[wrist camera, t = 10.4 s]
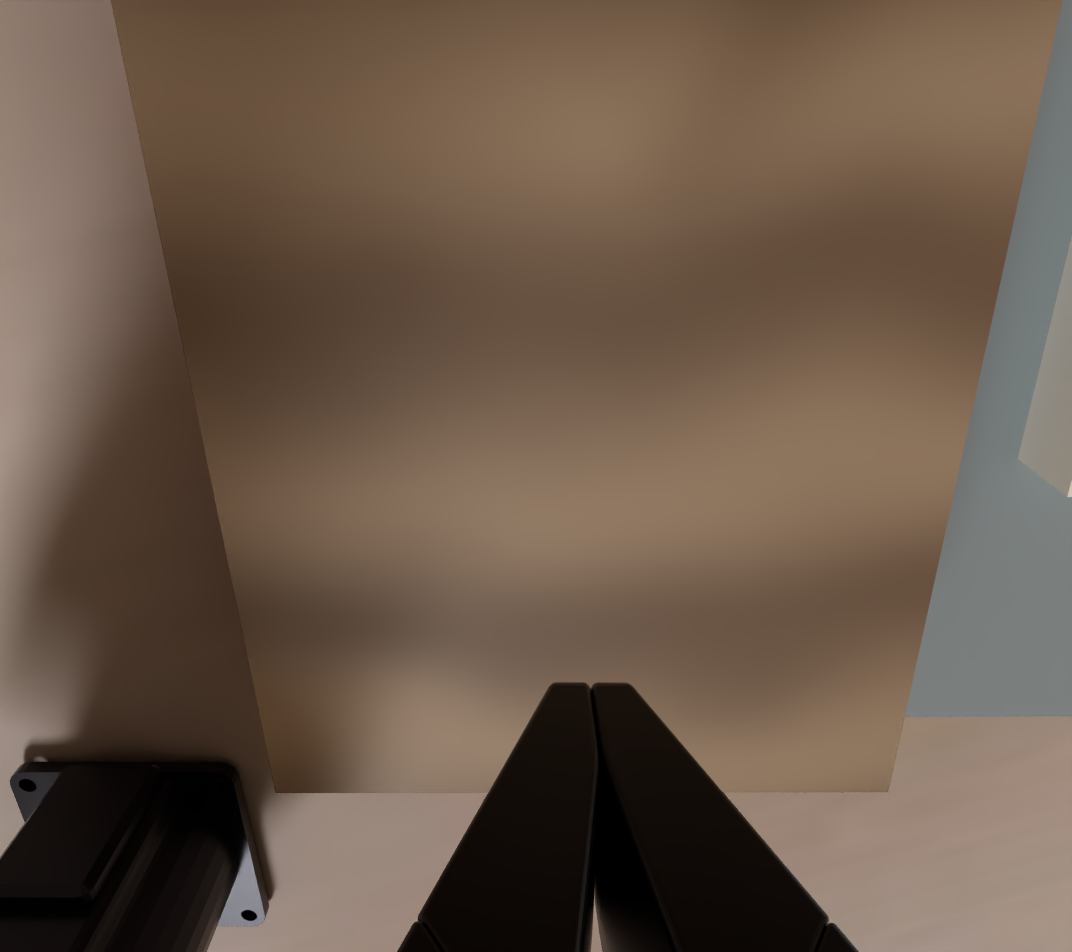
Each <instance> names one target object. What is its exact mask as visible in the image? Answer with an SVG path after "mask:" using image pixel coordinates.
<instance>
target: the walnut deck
mask: <svg viewBox="0 0 1072 952" xmlns="http://www.w3.org/2000/svg"><path fill="white" fill-rule="evenodd" d="M111 3H112V8H113V12H114V17H115V22H116V27H117V32H118V37H119V41H120V46H121V51H122V56H123V61H124V65H125V70H126V75H127V80H128V85H129V90H130V94H131V99H132V104H133V109H134V114H135V118H136V123H137V128H138V133H139V138H140V142H141V147H142V152H143V157H144V162H145V167H146V171H147V176H148V181H149V186H150V191H151V195H152V200H153V205H154V210H155V215H156V219H157V224H158V229H159V234H160V239H161V244H162V248H163V253H164V258H165V263H166V268H167V272H168V277H169V282H170V287H171V292H172V297H173V301H174V306H175V311H176V316H177V321H178V325H179V330H180V335H181V340H182V345H183V349H184V354H185V359H186V364H187V369H188V374H189V378H190V383H191V388H192V393H193V398H194V402H195V407H196V412H197V417H198V422H199V426H200V431H201V436H202V441H203V446H204V451H205V455H206V460H207V465H208V470H209V475H210V479H211V484H212V489H213V494H214V499H215V504H216V508H217V513H218V518H219V523H220V528H221V532H222V537H223V542H224V547H225V552H226V556H227V561H228V566H229V571H230V576H231V581H232V585H233V590H234V595H235V600H236V605H237V609H238V614H239V619H240V624H241V629H242V633H243V638H244V643H245V648H246V653H247V658H248V662H249V667H250V672H251V677H252V682H253V686H254V691H255V696H256V701H257V706H258V710H259V715H260V720H261V725H262V730H263V735H264V739H265V744H266V749H267V754H268V759H269V763H270V768H271V773H272V778H273V783H274V788H275V792H276V793H488V792H489V791H490V789H491V787H492V785H493V784H494V782H495V780H496V778H497V777H498V775H499V773H500V771H501V769H502V768H503V766H504V764H505V762H506V761H507V759H508V757H509V755H510V754H511V752H512V750H513V748H514V747H515V745H516V743H517V741H518V740H519V738H520V736H521V734H522V733H523V731H524V729H525V727H526V726H527V724H528V722H529V720H530V719H531V717H532V715H533V713H534V712H535V710H536V708H537V706H538V705H539V703H540V701H541V699H542V698H543V696H544V694H545V692H546V691H547V689H548V687H549V686H550V685H551V684H552V683H554V682H585V683H587V684H588V685H589V686H590V688H591V687H592V685H593V684H594V683H597V682H625V683H629V684H631V685H632V686H633V687H634V688H635V689H636V690H637V692H638V693H639V694H640V695H641V696H642V697H643V699H644V700H645V701H646V702H647V703H648V704H649V706H650V707H651V708H652V709H653V710H654V712H655V713H656V714H657V715H658V716H659V717H660V719H661V720H662V721H663V722H664V723H665V725H666V726H667V727H668V728H669V729H670V730H671V732H672V733H673V734H674V735H675V736H676V737H677V739H678V740H679V741H680V742H681V743H682V745H683V746H684V747H685V748H686V749H687V750H688V752H689V753H690V754H691V755H692V756H693V758H694V759H695V760H696V761H697V762H698V763H699V765H700V766H701V767H702V768H703V769H704V770H705V772H706V773H707V774H708V775H709V776H710V778H711V779H712V780H713V781H714V782H715V783H716V785H717V786H718V787H719V788H720V789H721V791H722V792H888V791H889V786H890V781H891V777H892V772H893V768H894V763H895V759H896V754H897V750H898V745H899V741H900V736H901V731H902V727H903V722H904V718H905V713H906V709H907V704H908V700H909V695H910V691H911V686H912V682H913V677H914V672H915V668H916V663H917V659H918V654H919V650H920V645H921V641H922V636H923V632H924V627H925V622H926V618H927V613H928V609H929V604H930V600H931V595H932V591H933V586H934V582H935V577H936V573H937V568H938V563H939V559H940V554H941V550H942V545H943V541H944V536H945V532H946V527H947V523H948V518H949V513H950V509H951V504H952V500H953V495H954V491H955V486H956V482H957V477H958V473H959V468H960V464H961V459H962V454H963V450H964V445H965V441H966V436H967V432H968V427H969V423H970V418H971V414H972V409H973V405H974V400H975V395H976V391H977V386H978V382H979V377H980V373H981V368H982V364H983V359H984V355H985V350H986V345H987V341H988V336H989V332H990V327H991V323H992V318H993V314H994V309H995V305H996V300H997V296H998V291H999V286H1000V282H1001V277H1002V273H1003V268H1004V264H1005V259H1006V255H1007V250H1008V246H1009V241H1010V236H1011V232H1012V227H1013V223H1014V218H1015V214H1016V209H1017V205H1018V200H1019V196H1020V191H1021V187H1022V182H1023V177H1024V173H1025V168H1026V164H1027V159H1028V155H1029V150H1030V146H1031V141H1032V137H1033V132H1034V128H1035V123H1036V118H1037V114H1038V109H1039V105H1040V100H1041V96H1042V91H1043V87H1044V82H1045V78H1046V73H1047V68H1048V64H1049V59H1050V55H1051V50H1052V46H1053V41H1054V37H1055V32H1056V28H1057V23H1058V19H1059V14H1060V9H1061V5H1062V0H111Z"/></svg>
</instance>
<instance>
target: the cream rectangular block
mask: <svg viewBox="0 0 1072 952" xmlns="http://www.w3.org/2000/svg"><path fill="white" fill-rule="evenodd" d="M1018 459H1019V460H1020V461H1021V462H1023V463H1024V464H1025V465H1027V466H1028V467H1029V468H1030V469H1032V470H1033V471H1034V472H1036V473H1037V474H1038V475H1039V476H1041V477H1042V478H1043V479H1045V480H1046V481H1047V482H1048V483H1050V484H1051V485H1052V486H1054V487H1055V488H1056V489H1057V490H1059V491H1060V492H1061V493H1063V494H1064V495H1065V496H1066V497H1072V237H1071V241H1070V245H1069V250H1068V254H1067V258H1066V262H1065V266H1064V270H1063V274H1062V278H1061V282H1060V287H1059V291H1058V295H1057V299H1056V303H1055V307H1054V311H1053V315H1052V319H1051V323H1050V328H1049V332H1048V336H1047V340H1046V344H1045V348H1044V352H1043V356H1042V360H1041V365H1040V369H1039V373H1038V377H1037V381H1036V385H1035V389H1034V393H1033V397H1032V401H1031V406H1030V410H1029V414H1028V418H1027V422H1026V426H1025V430H1024V434H1023V438H1022V443H1021V447H1020V451H1019V455H1018Z"/></svg>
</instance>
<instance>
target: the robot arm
mask: <svg viewBox="0 0 1072 952" xmlns="http://www.w3.org/2000/svg"><path fill="white" fill-rule="evenodd" d="M217 779H220V780H222V781H219V780H217ZM10 785H11V788H12V791H13V793H14V796H15V798H16V801H17V803H18V806H19V808H20V811H21V814H22V816H23V819H24V821H25V824H24V825H23V826H22V828H21V829H20V831H19V832H18V833H17V835H16V836H15V837H14V839H13V840H12V842H11V843H10V844H9V846H8V847H7V849H6V850H5V851H4V853H3V854H2V855H1V857H0V952H207V950H208V947H209V945H210V942H211V940H212V937H213V935H214V932H215V930H216V927H217V926H256V925H259V924H261V923H262V922H263V921H264V920H265V917H266V914H267V911H268V908H269V903H268V898H267V894H266V890H265V885H264V881H263V877H262V872H261V868H260V864H259V859H258V855H257V851H256V846H255V842H254V838H253V833H252V829H251V825H250V820H249V816H248V812H247V807H246V803H245V799H244V794H243V790H242V785H241V781H240V777H239V774H238V772H237V770H236V769H235V768H234V767H233V766H232V765H230V764H228V763H225V762H28V763H24V764H22V765H21V766H20V767H19V768H18V769H17V771H16V772H15V773H14V774H13V776H12V777H11V779H10ZM594 892H595V905H596V912H597V919H598V926H599V933H600V939H601V945H602V951H603V952H858V950H857V949H856V948H855V947H854V946H853V945H852V943H851V942H850V941H849V940H848V939H847V937H846V936H845V935H844V934H843V933H842V932H841V930H840V929H839V928H838V927H837V926H836V925H835V924H834V923H829V924H828V922H829V918H828V916H827V914H826V913H825V912H824V911H823V910H822V908H821V907H820V906H819V905H818V904H817V902H816V901H815V900H814V899H813V898H812V897H811V895H810V894H809V893H808V892H807V891H806V890H805V888H804V887H803V886H802V885H801V884H800V882H799V881H798V880H797V879H796V878H795V877H794V875H793V874H792V873H791V872H790V871H789V869H788V868H787V867H786V866H785V865H784V864H783V862H782V861H781V860H780V859H779V858H778V857H777V855H776V854H775V853H774V852H773V851H772V849H771V848H770V847H769V846H768V845H767V844H766V842H765V841H764V840H763V839H762V838H761V836H760V835H759V834H758V833H757V832H756V831H755V829H754V828H753V827H752V826H751V825H750V824H749V822H748V821H747V820H746V819H745V818H744V816H743V815H742V814H741V813H740V812H739V811H738V809H737V808H736V807H735V806H734V805H733V803H732V802H731V801H730V800H729V799H728V798H727V796H726V795H725V794H724V793H723V792H722V791H721V789H720V788H719V787H718V786H717V785H716V783H715V782H714V781H713V780H712V779H711V778H710V776H709V775H708V774H707V773H706V772H705V770H704V769H703V768H702V767H701V766H700V765H699V763H698V762H697V761H696V760H695V759H694V758H693V756H692V755H691V754H690V753H689V752H688V750H687V749H686V748H685V747H684V746H683V745H682V743H681V742H680V741H679V740H678V739H677V737H676V736H675V735H674V734H673V733H672V732H671V730H670V729H669V728H668V727H667V726H666V725H665V723H664V722H663V721H662V720H661V719H660V717H659V716H658V715H657V714H656V713H655V712H654V710H653V709H652V708H651V707H650V706H649V704H648V703H647V702H646V701H645V700H644V699H643V697H642V696H641V695H640V694H639V693H638V692H637V690H636V689H635V688H634V687H633V686H632V685H631V684H629V683H625V682H597V683H594V684H593V685H592V687H591V688H590V686H589V685H588V684H587V683H585V682H554V683H552V684H551V685H550V686H549V687H548V689H547V691H546V692H545V694H544V696H543V698H542V699H541V701H540V703H539V705H538V706H537V708H536V710H535V712H534V713H533V715H532V717H531V719H530V720H529V722H528V724H527V726H526V727H525V729H524V731H523V733H522V734H521V736H520V738H519V740H518V741H517V743H516V745H515V747H514V748H513V750H512V752H511V754H510V755H509V757H508V759H507V761H506V762H505V764H504V766H503V768H502V769H501V771H500V773H499V775H498V777H497V778H496V780H495V782H494V784H493V785H492V787H491V789H490V791H489V792H488V794H487V796H486V798H485V799H484V801H483V803H482V805H481V806H480V808H479V810H478V812H477V813H476V815H475V817H474V819H473V820H472V822H471V824H470V826H469V827H468V829H467V831H466V833H465V834H464V836H463V838H462V840H461V841H460V843H459V845H458V847H457V848H456V850H455V852H454V854H453V855H452V857H451V859H450V861H449V862H448V864H447V866H446V868H445V869H444V871H443V873H442V875H441V876H440V878H439V880H438V882H437V883H436V885H435V887H434V889H433V890H432V892H431V894H430V896H429V898H428V899H427V901H426V903H425V905H424V906H423V908H422V910H421V912H420V913H419V915H418V922H415V923H414V924H413V925H412V926H411V928H410V930H409V932H408V933H407V935H406V937H405V939H404V941H403V942H402V944H401V946H400V948H399V949H398V951H397V952H591V942H592V927H593V907H594Z"/></svg>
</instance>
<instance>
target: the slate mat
mask: <svg viewBox="0 0 1072 952" xmlns="http://www.w3.org/2000/svg"><path fill="white" fill-rule="evenodd" d="M1071 237H1072V0H1062V5H1061V9H1060V14H1059V19H1058V23H1057V28H1056V32H1055V37H1054V41H1053V46H1052V50H1051V55H1050V59H1049V64H1048V68H1047V73H1046V78H1045V82H1044V87H1043V91H1042V96H1041V100H1040V105H1039V109H1038V114H1037V118H1036V123H1035V128H1034V132H1033V137H1032V141H1031V146H1030V150H1029V155H1028V159H1027V164H1026V168H1025V173H1024V177H1023V182H1022V187H1021V191H1020V196H1019V200H1018V205H1017V209H1016V214H1015V218H1014V223H1013V227H1012V232H1011V236H1010V241H1009V246H1008V250H1007V255H1006V259H1005V264H1004V268H1003V273H1002V277H1001V282H1000V286H999V291H998V296H997V300H996V305H995V309H994V314H993V318H992V323H991V327H990V332H989V336H988V341H987V345H986V350H985V355H984V359H983V364H982V368H981V373H980V377H979V382H978V386H977V391H976V395H975V400H974V405H973V409H972V414H971V418H970V423H969V427H968V432H967V436H966V441H965V445H964V450H963V454H962V459H961V464H960V468H959V473H958V477H957V482H956V486H955V491H954V495H953V500H952V504H951V509H950V513H949V518H948V523H947V527H946V532H945V536H944V541H943V545H942V550H941V554H940V559H939V563H938V568H937V573H936V577H935V582H934V586H933V591H932V595H931V600H930V604H929V609H928V613H927V618H926V622H925V627H924V632H923V636H922V641H921V645H920V650H919V654H918V659H917V663H916V668H915V672H914V677H913V682H912V686H911V691H910V695H909V700H908V704H907V709H906V713H905V717H961V716H1072V497H1066V496H1065V495H1064V494H1063V493H1061V492H1060V491H1059V490H1057V489H1056V488H1055V487H1054V486H1052V485H1051V484H1050V483H1048V482H1047V481H1046V480H1045V479H1043V478H1042V477H1041V476H1039V475H1038V474H1037V473H1036V472H1034V471H1033V470H1032V469H1030V468H1029V467H1028V466H1027V465H1025V464H1024V463H1023V462H1021V461H1020V460H1019V459H1018V455H1019V451H1020V447H1021V443H1022V438H1023V434H1024V430H1025V426H1026V422H1027V418H1028V414H1029V410H1030V406H1031V401H1032V397H1033V393H1034V389H1035V385H1036V381H1037V377H1038V373H1039V369H1040V365H1041V360H1042V356H1043V352H1044V348H1045V344H1046V340H1047V336H1048V332H1049V328H1050V323H1051V319H1052V315H1053V311H1054V307H1055V303H1056V299H1057V295H1058V291H1059V287H1060V282H1061V278H1062V274H1063V270H1064V266H1065V262H1066V258H1067V254H1068V250H1069V245H1070V241H1071Z"/></svg>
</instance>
